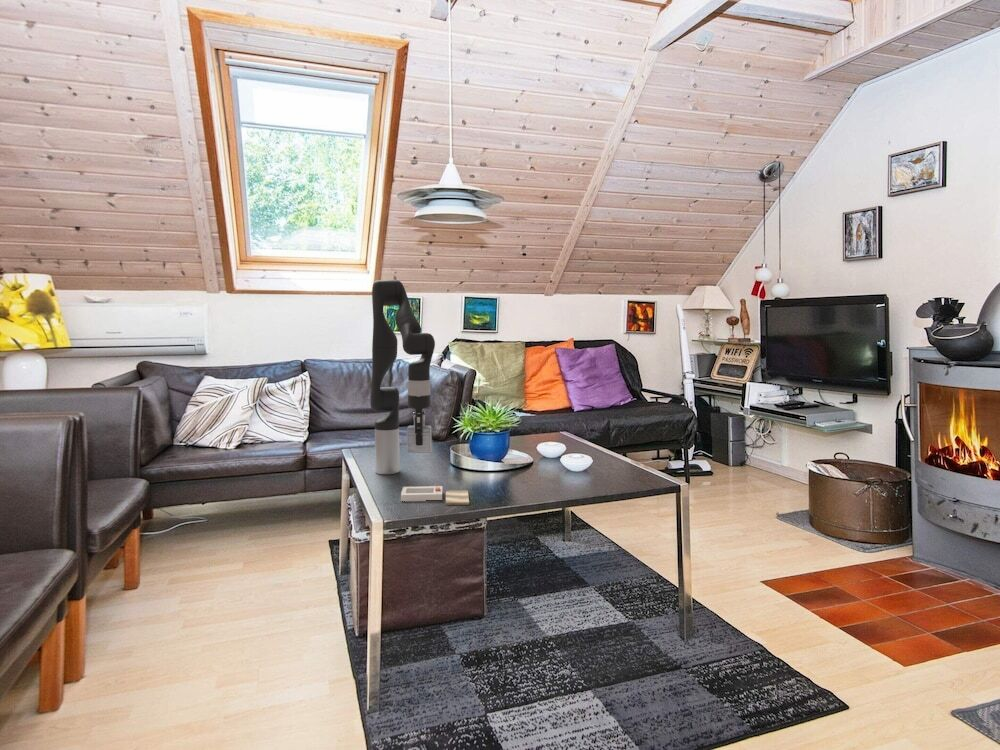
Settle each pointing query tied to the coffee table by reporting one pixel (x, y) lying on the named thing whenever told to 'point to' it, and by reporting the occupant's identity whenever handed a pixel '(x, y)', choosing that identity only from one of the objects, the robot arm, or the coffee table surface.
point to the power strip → (421, 493)
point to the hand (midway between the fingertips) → (419, 443)
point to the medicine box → (427, 440)
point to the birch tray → (457, 497)
